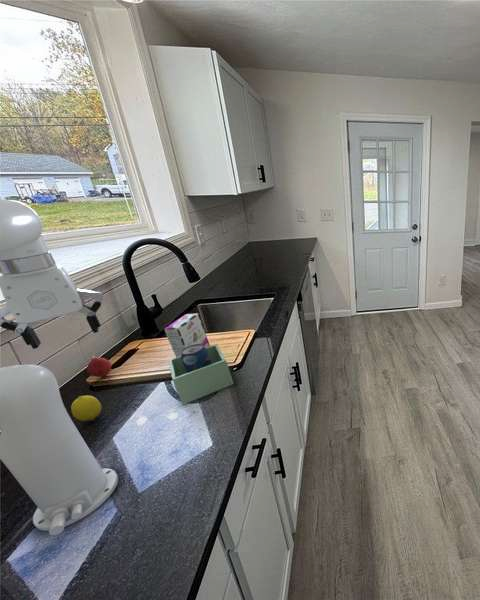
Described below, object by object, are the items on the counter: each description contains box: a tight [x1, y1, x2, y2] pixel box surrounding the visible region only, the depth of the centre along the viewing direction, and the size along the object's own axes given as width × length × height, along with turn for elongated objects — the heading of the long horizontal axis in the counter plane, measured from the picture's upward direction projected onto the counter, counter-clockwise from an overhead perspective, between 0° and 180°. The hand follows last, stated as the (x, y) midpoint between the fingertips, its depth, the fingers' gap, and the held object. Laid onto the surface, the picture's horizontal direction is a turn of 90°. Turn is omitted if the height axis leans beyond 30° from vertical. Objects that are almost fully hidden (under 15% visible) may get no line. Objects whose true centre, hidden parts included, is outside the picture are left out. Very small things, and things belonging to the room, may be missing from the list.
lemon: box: [70, 395, 102, 422], centre depth 85 cm, size 6×6×8 cm
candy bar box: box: [163, 312, 211, 358], centre depth 108 cm, size 11×5×16 cm, turn 179°
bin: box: [167, 343, 235, 406], centre depth 97 cm, size 14×14×9 cm
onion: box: [86, 355, 112, 378], centre depth 104 cm, size 6×6×8 cm
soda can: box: [181, 344, 212, 373], centre depth 96 cm, size 7×7×12 cm
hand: (68, 338), depth 70 cm, fingers open, 9 cm apart
